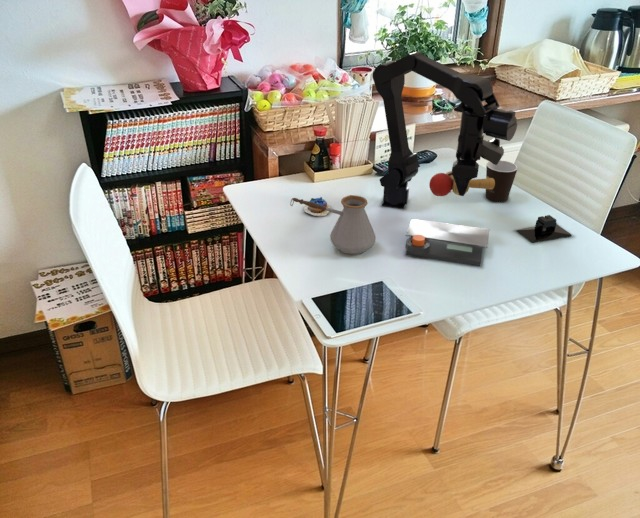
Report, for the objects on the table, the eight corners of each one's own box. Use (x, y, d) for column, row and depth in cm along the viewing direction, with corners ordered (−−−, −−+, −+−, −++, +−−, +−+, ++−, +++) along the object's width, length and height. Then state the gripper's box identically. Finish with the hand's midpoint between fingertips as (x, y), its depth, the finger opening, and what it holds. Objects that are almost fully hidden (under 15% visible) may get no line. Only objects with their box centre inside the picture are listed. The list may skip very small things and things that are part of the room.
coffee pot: (368, 233, 156) (371, 181, 148) (380, 256, 146) (384, 201, 138) (288, 241, 152) (286, 187, 144) (295, 264, 143) (293, 209, 135)
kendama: (480, 185, 162) (421, 184, 157) (489, 166, 158) (429, 164, 152) (493, 202, 157) (432, 202, 151) (502, 183, 153) (440, 182, 147)
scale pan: (405, 235, 149) (405, 234, 149) (411, 219, 156) (411, 218, 156) (487, 247, 144) (487, 246, 144) (489, 230, 152) (489, 229, 151)
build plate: (554, 224, 161) (558, 209, 159) (572, 237, 155) (576, 221, 153) (515, 231, 158) (519, 215, 155) (532, 244, 152) (536, 228, 149)
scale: (403, 257, 146) (404, 246, 144) (412, 229, 158) (413, 219, 157) (479, 269, 142) (481, 258, 140) (483, 239, 154) (485, 229, 152)
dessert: (326, 216, 162) (314, 198, 161) (307, 225, 166) (296, 207, 165) (336, 206, 169) (325, 188, 168) (318, 215, 172) (307, 198, 171)
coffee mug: (512, 205, 171) (518, 173, 165) (481, 202, 172) (487, 170, 167) (509, 188, 180) (515, 157, 175) (480, 186, 182) (485, 155, 176)
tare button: (411, 245, 145) (411, 239, 145) (413, 240, 148) (413, 233, 147) (423, 247, 145) (424, 241, 144) (425, 241, 147) (425, 235, 146)
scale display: (446, 249, 144) (446, 248, 143) (447, 244, 145) (447, 243, 145) (471, 252, 142) (471, 252, 142) (472, 248, 144) (472, 247, 144)
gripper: (504, 147, 137) (493, 208, 145) (505, 122, 152) (495, 178, 161) (455, 143, 140) (447, 202, 148) (461, 118, 155) (454, 173, 163)
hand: (462, 188), depth 155 cm, fingers closed on kendama, 8 cm apart
